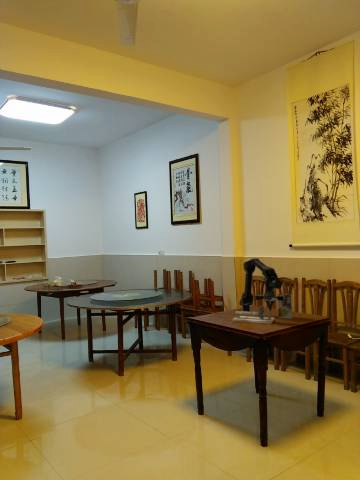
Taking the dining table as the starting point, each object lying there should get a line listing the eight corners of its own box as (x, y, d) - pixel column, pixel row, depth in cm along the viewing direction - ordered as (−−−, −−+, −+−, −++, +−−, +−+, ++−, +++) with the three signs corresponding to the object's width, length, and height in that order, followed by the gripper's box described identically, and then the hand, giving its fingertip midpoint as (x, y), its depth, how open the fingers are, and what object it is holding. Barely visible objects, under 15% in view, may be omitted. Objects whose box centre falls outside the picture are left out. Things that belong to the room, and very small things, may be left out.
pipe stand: (237, 317, 277) (236, 309, 277) (274, 319, 266) (273, 311, 266) (232, 321, 266) (231, 312, 266) (270, 323, 255) (270, 314, 255)
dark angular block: (261, 316, 266) (260, 305, 266) (264, 317, 265) (263, 305, 265) (259, 318, 262) (259, 306, 261) (262, 318, 261) (262, 306, 261)
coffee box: (292, 316, 273) (291, 293, 273) (292, 318, 267) (291, 295, 267) (279, 316, 276) (278, 293, 276) (278, 318, 270) (277, 295, 270)
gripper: (252, 288, 257) (253, 312, 257) (281, 289, 249) (282, 313, 250) (256, 286, 267) (257, 309, 268) (284, 286, 260) (285, 310, 260)
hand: (270, 310), depth 261 cm, fingers closed
